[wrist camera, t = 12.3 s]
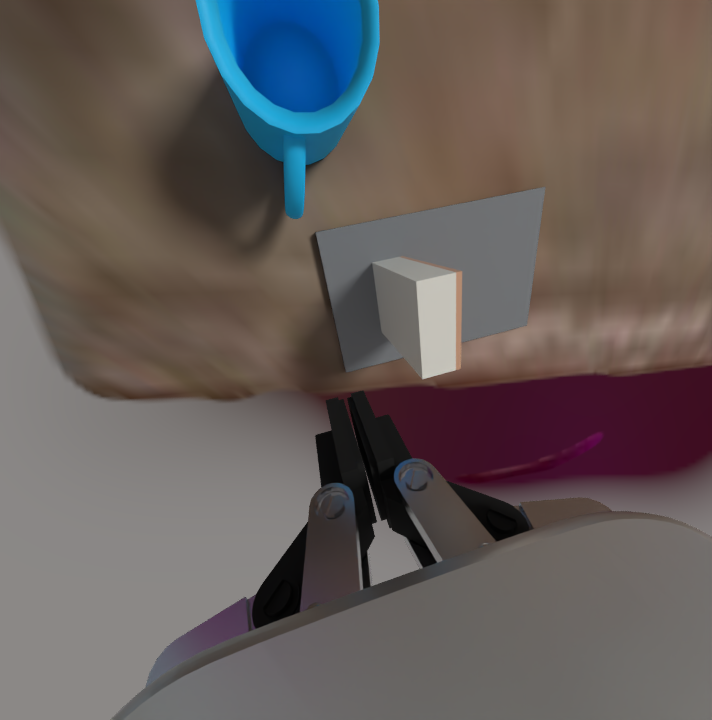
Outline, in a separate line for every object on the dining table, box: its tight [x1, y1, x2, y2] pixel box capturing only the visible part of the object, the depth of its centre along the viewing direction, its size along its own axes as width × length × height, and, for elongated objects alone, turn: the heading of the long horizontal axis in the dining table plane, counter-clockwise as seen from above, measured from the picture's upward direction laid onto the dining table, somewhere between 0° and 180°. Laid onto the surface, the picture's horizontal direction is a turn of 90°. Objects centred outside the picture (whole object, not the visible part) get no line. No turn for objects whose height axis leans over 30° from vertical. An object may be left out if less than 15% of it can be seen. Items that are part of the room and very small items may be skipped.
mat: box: [315, 187, 545, 372], centre depth 28 cm, size 14×22×1 cm, turn 100°
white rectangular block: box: [372, 256, 462, 379], centre depth 22 cm, size 7×3×10 cm, turn 10°
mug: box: [196, 0, 379, 219], centre depth 17 cm, size 12×8×8 cm
